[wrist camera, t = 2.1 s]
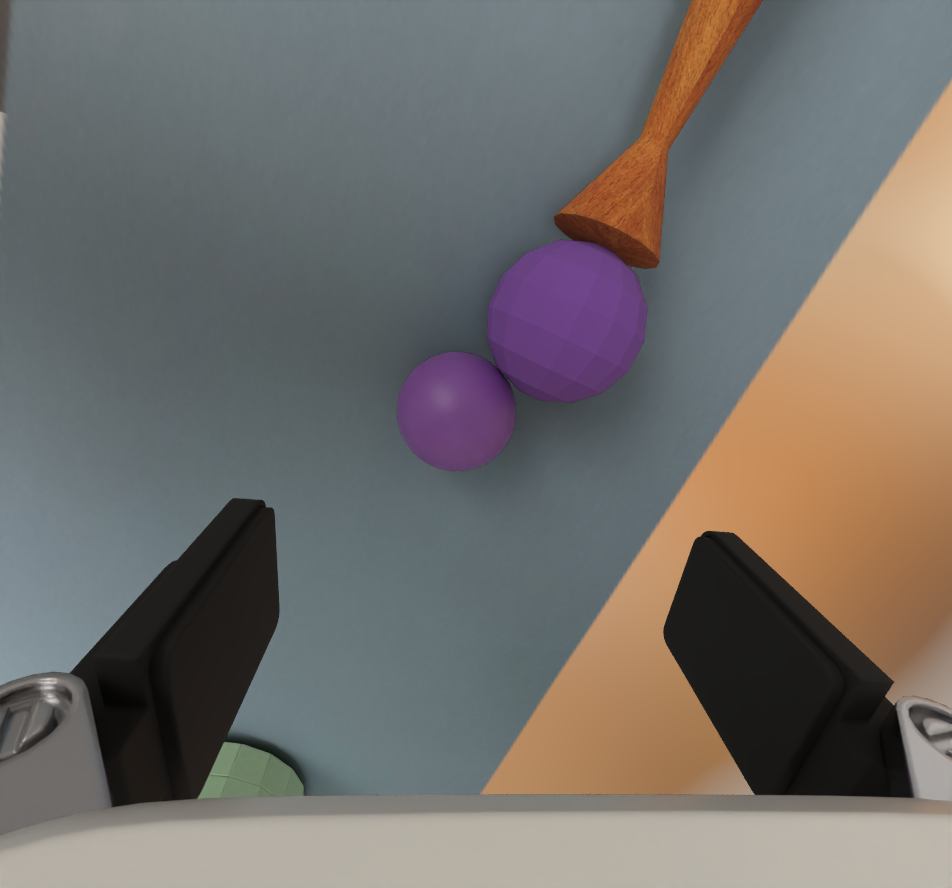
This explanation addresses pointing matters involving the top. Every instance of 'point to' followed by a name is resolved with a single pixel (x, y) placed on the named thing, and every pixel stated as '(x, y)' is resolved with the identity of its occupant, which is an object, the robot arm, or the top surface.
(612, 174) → the purple maraca
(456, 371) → the ball
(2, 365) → the top surface
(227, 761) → the bowl
